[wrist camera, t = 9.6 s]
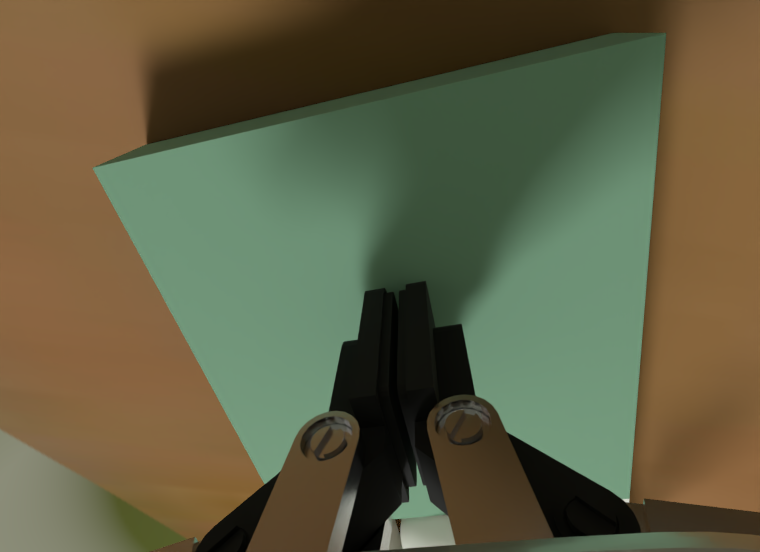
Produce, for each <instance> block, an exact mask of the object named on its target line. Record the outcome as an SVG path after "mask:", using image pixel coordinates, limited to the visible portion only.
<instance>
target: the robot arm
mask: <svg viewBox="0 0 760 552" xmlns="http://www.w3.org/2000/svg"><path fill="white" fill-rule="evenodd" d="M416 463H417V465H416ZM417 466H418V470H419V473H420V477H421V480H422V484H423V486H425V485H426V488H427V491H428V495H429V499H430V502H431V503H433V504H434V505H435V506H436V507H438V508H439V509H440V510H441V511H442V512H444V513H445V514H446V515H447V516H448V517H449V520H450V524H451V528H452V532H453V536H454V540H455V544H456V545H446V546H432V547H419V548H405V549H392V550H389V544H390V538H391V532H392V517H391V515H392V514H393V513H394V512H395V511H396V510H397V509H398V508H399V507H400V505H401V504H402V503H406V502H409V487H415V486H417ZM151 552H760V512H752V511H743V510H735V509H727V508H719V507H710V506H702V505H694V504H685V503H677V502H669V501H660V500H652V499H644V501H643V504H636V503H628V502H624V500H622V499H621V498H620V497H618V496H617V495H615V494H614V493H613V492H611V491H610V490H608V489H606V488H605V487H603V486H601V485H599V484H597V483H596V482H594V481H592V480H590V479H589V478H587V477H585V476H583V475H582V474H580V473H578V472H576V471H575V470H573V469H571V468H569V467H568V466H566V465H564V464H562V463H560V462H559V461H557V460H555V459H553V458H552V457H550V456H548V455H546V454H545V453H543V452H541V451H539V450H538V449H536V448H534V447H532V446H531V445H529V444H527V443H525V442H524V441H522V440H520V439H518V438H516V437H515V436H513V435H511V434H509V433H508V432H506V430H505V428H504V425H503V423H502V421H501V419H500V417H499V414H498V412H497V411H496V409H495V408H494V407H493V405H492V404H490V403H489V402H488V401H486V400H485V399H483V398H480V397H477V396H476V395H475V390H474V385H473V380H472V374H471V369H470V364H469V359H468V354H467V348H466V343H465V338H464V333H463V328H462V324H456V325H449V326H443V327H435V322H434V317H433V313H432V308H431V303H430V298H429V293H428V288H427V284H426V281H422V282H416V283H410V284H406V290H400V291H399V308H398V306H397V302H396V298H395V295H394V292H388V293H387V291H386V289H385V288H381V289H375V290H369V291H365V293H364V300H363V307H362V313H361V320H360V326H359V333H358V340H351V341H344V342H343V344H342V347H341V351H340V357H339V362H338V367H337V372H336V377H335V382H334V387H333V392H332V397H331V402H330V407H329V412H325V413H322V414H320V415H317V416H315V417H314V418H312V419H311V420H309V421H308V422H307V423H306V424H305V425H304V426H303V427H302V428H301V429H300V430H299V432H298V433H297V435H296V437H295V439H294V441H293V444H292V446H291V448H290V451H289V453H288V455H287V458H286V460H285V462H284V465H283V467H282V469H281V471H280V472H279V473H278V474H277V475H276V476H274V477H273V478H272V479H271V480H270V481H268V482H267V483H266V484H265V485H264V486H262V487H261V488H260V489H259V490H258V491H256V492H255V493H254V494H253V495H252V496H250V497H249V498H248V499H247V500H246V501H244V502H243V503H242V504H241V505H240V506H238V507H237V508H236V509H235V510H234V511H232V512H231V513H230V514H229V515H227V516H226V517H225V518H224V519H223V520H221V521H220V522H219V523H218V524H217V525H215V526H214V527H213V528H212V529H211V530H210V531H209V532H208V533H207V534H206V535H205V537H204V538H203V540H202V541H199V542H198V541H197V539H196V538H195V537H193V538H190V539H187V540H184V541H181V542H178V543H175V544H172V545H169V546H166V547H163V548H160V549H157V550H154V551H151Z"/></svg>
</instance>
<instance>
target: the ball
mask: <svg viewBox="0 0 760 552" xmlns="http://www.w3.org/2000/svg"><path fill="white" fill-rule="evenodd" d="M400 536H401V544H402V548H403V549H405V548H419V547H432V546H446V545H456V544H455V540H454V536H453V532H452V528H451V524H450V520H449V517H448V516H447V515H438V516H426V517H415V518H404V519H401V526H400Z"/></svg>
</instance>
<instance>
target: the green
mask: <svg viewBox="0 0 760 552" xmlns="http://www.w3.org/2000/svg"><path fill="white" fill-rule="evenodd" d="M665 43H666V33H611V34H607V35H602V36H598V37H594V38H590V39H586V40H582V41H577V42H573V43H569V44H565V45H561V46H557V47H552V48H548V49H544V50H540V51H536V52H531V53H527V54H523V55H519V56H515V57H511V58H506V59H502V60H498V61H494V62H490V63H485V64H481V65H477V66H473V67H469V68H465V69H460V70H456V71H452V72H448V73H444V74H440V75H435V76H431V77H427V78H423V79H419V80H414V81H410V82H406V83H402V84H398V85H394V86H389V87H385V88H381V89H377V90H373V91H368V92H364V93H360V94H356V95H352V96H348V97H343V98H339V99H335V100H331V101H327V102H322V103H318V104H314V105H310V106H306V107H302V108H297V109H293V110H289V111H285V112H281V113H277V114H272V115H268V116H264V117H260V118H256V119H251V120H247V121H243V122H239V123H235V124H231V125H226V126H222V127H218V128H214V129H210V130H205V131H201V132H197V133H193V134H189V135H185V136H180V137H176V138H172V139H168V140H164V141H160V142H155V143H151V144H147V145H144V146H142V147H140V148H137V149H135V150H133V151H130V152H128V153H126V154H123V155H121V156H119V157H116V158H114V159H112V160H110V161H107V162H105V163H103V164H100V165H98V166H96V167H93V170H94V172H95V173H96V175H97V177H98V179H99V181H100V183H101V184H102V186H103V188H104V190H105V192H106V194H107V195H108V197H109V199H110V201H111V203H112V205H113V206H114V208H115V210H116V212H117V214H118V216H119V217H120V219H121V221H122V223H123V225H124V227H125V228H126V230H127V232H128V234H129V236H130V238H131V240H132V241H133V243H134V245H135V247H136V249H137V251H138V252H139V254H140V256H141V258H142V260H143V262H144V263H145V265H146V267H147V269H148V271H149V273H150V274H151V276H152V278H153V280H154V282H155V284H156V285H157V287H158V289H159V291H160V293H161V295H162V296H163V298H164V300H165V302H166V304H167V306H168V307H169V309H170V311H171V313H172V315H173V317H174V319H175V320H176V322H177V324H178V326H179V328H180V330H181V331H182V333H183V335H184V337H185V339H186V341H187V342H188V344H189V346H190V348H191V350H192V352H193V353H194V355H195V357H196V359H197V361H198V363H199V364H200V366H201V368H202V370H203V372H204V374H205V375H206V377H207V379H208V381H209V383H210V385H211V386H212V388H213V390H214V392H215V394H216V396H217V398H218V399H219V401H220V403H221V405H222V407H223V409H224V410H225V412H226V414H227V416H228V418H229V420H230V421H231V423H232V425H233V427H234V429H235V431H236V432H237V434H238V436H239V438H240V440H241V442H242V443H243V445H244V447H245V449H246V451H247V453H248V454H249V456H250V458H251V460H252V462H253V464H254V465H255V467H256V469H257V471H258V473H259V475H260V476H261V478H262V480H263V482H264V484H266V483H267V482H268V481H270V480H271V479H272V478H273V477H274V476H276V475H277V474H278V473H279V472H280V471H281V469H282V467H283V465H284V462H285V460H286V458H287V455H288V453H289V451H290V448H291V446H292V444H293V441H294V439H295V437H296V435H297V433H298V432H299V430H300V429H301V428H302V427H303V426H304V425H305V424H306V423H307V422H308V421H309V420H311V419H312V418H314V417H315V416H317V415H320V414H322V413H325V412H329V407H330V402H331V397H332V392H333V387H334V382H335V377H336V372H337V367H338V362H339V357H340V351H341V347H342V344H343V342H344V341H351V340H358V333H359V326H360V320H361V313H362V307H363V300H364V293H365V291H369V290H375V289H381V288H385V289H386V291H387V293H388V292H394V295H395V298H396V302H397V306H398V308H399V291H400V290H406V284H410V283H416V282H422V281H426V284H427V288H428V293H429V298H430V303H431V308H432V313H433V317H434V322H435V327H443V326H449V325H456V324H462V328H463V333H464V338H465V343H466V348H467V354H468V359H469V364H470V369H471V374H472V380H473V385H474V390H475V395H476V396H477V397H480V398H483V399H485V400H486V401H488V402H489V403H490V404H492V405H493V407H494V408H495V409H496V411H497V412H498V414H499V417H500V419H501V421H502V423H503V425H504V428H505V430H506V432H508V433H509V434H511V435H513V436H515V437H516V438H518V439H520V440H522V441H524V442H525V443H527V444H529V445H531V446H532V447H534V448H536V449H538V450H539V451H541V452H543V453H545V454H546V455H548V456H550V457H552V458H553V459H555V460H557V461H559V462H560V463H562V464H564V465H566V466H568V467H569V468H571V469H573V470H575V471H576V472H578V473H580V474H582V475H583V476H585V477H587V478H589V479H590V480H592V481H594V482H596V483H597V484H599V485H601V486H603V487H605V488H606V489H608V490H610V491H611V492H613V493H614V494H615V495H617V496H618V497H620V498H621V499H622V500H624V502H628V503H629V497H630V485H631V472H632V459H633V447H634V434H635V422H636V409H637V396H638V384H639V371H640V358H641V346H642V333H643V321H644V308H645V295H646V283H647V270H648V257H649V245H650V232H651V219H652V207H653V194H654V182H655V169H656V156H657V144H658V131H659V118H660V106H661V93H662V81H663V68H664V55H665ZM416 465H417V463H416ZM438 515H446V514H445V513H444V512H442V511H441V510H440V509H439V508H438V507H436V506H435V505H434V504H433V503H431V502H430V499H429V495H428V491H427V488H426V485H425V486H423V484H422V480H421V477H420V473H419V470H418V466H417V486H415V487H409V502H406V503H402V504H401V505H400V507H399V508H398V509H397V510H396V511H395V512H394V513H393V514H392V515H391V517H392V532H391V538H390V544H389V550H392V549H403V548H402V544H401V536H400V533H399V530H398V527H397V524H396V521H395V519H404V518H415V517H426V516H438Z"/></svg>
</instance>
